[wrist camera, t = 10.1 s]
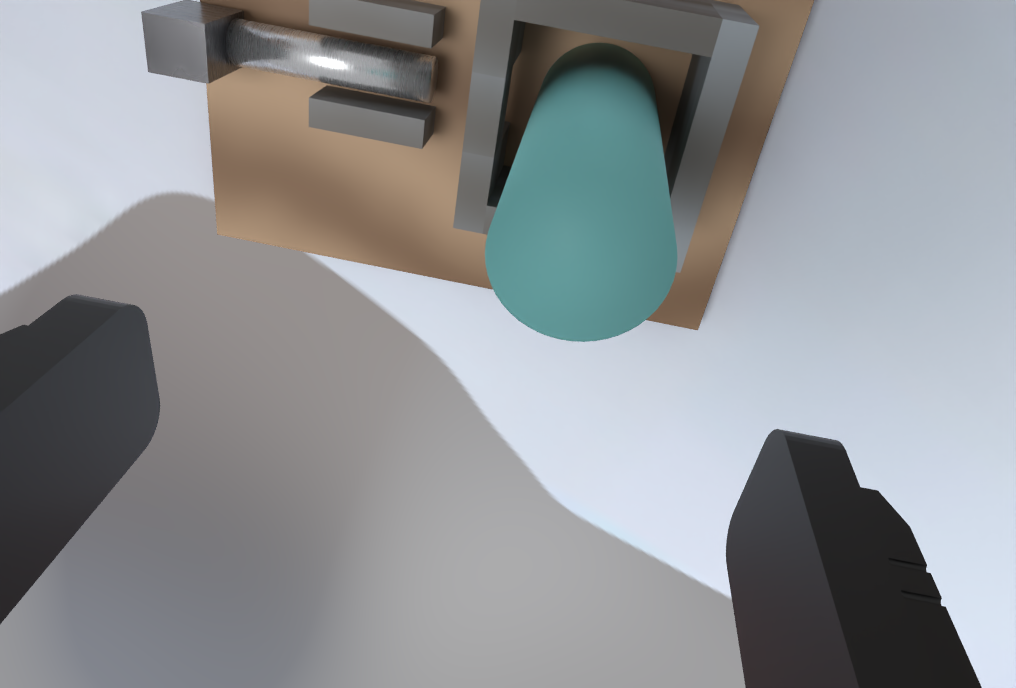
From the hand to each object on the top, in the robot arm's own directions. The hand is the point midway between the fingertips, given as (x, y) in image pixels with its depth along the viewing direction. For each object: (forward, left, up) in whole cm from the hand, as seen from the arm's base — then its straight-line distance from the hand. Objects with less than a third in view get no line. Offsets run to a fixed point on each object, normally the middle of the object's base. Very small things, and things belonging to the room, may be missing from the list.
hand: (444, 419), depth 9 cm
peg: (0, +2, -19) cm, 19 cm away
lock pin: (0, -8, -18) cm, 20 cm away
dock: (0, -2, -20) cm, 20 cm away
